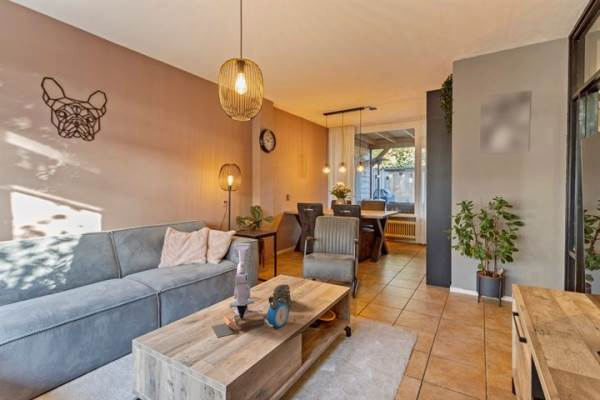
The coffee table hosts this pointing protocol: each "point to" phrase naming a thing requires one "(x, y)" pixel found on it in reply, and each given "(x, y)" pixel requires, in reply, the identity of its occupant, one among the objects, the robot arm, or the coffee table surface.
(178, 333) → the coffee table surface
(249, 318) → the tan flat block
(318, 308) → the coffee table surface
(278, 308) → the alarm clock
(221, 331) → the mat
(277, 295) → the rock
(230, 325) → the peach rectangular block
